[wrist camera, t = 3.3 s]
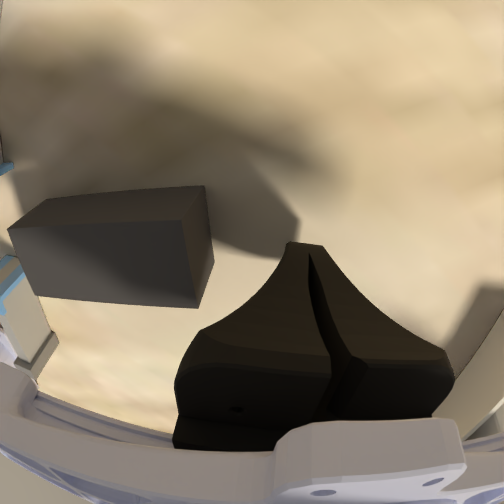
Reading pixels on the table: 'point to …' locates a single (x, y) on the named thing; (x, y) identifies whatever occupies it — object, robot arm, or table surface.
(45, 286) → the charcoal brick
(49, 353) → the blue capped pillar
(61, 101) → the table surface
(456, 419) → the container tray
